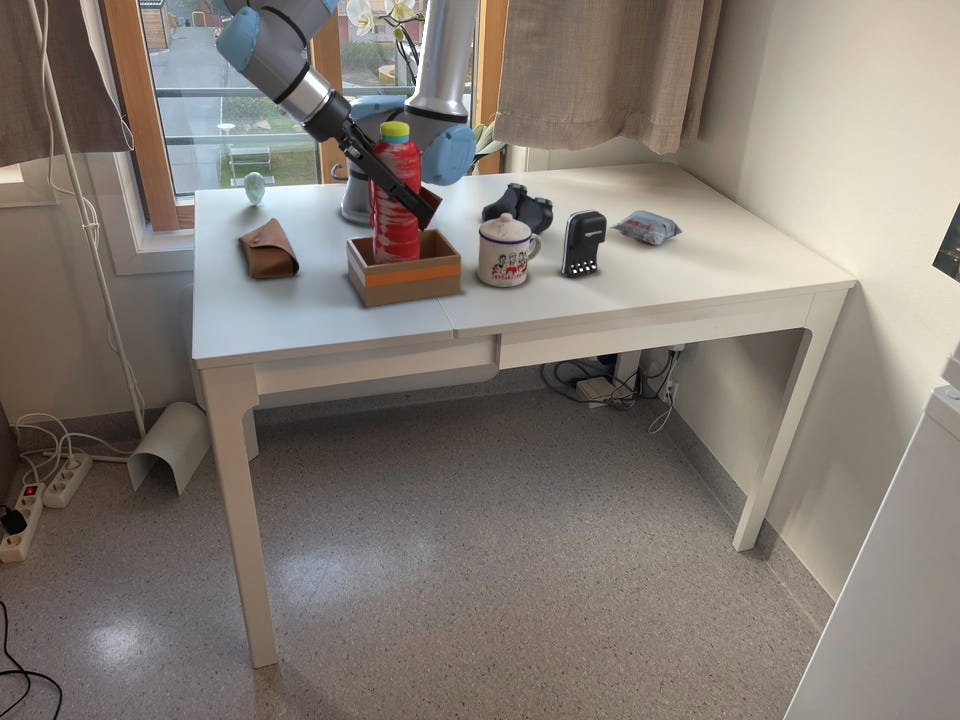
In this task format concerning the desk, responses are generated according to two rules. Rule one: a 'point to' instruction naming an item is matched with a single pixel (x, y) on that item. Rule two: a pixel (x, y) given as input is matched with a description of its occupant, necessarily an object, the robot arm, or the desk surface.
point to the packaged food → (647, 227)
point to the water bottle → (391, 218)
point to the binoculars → (522, 209)
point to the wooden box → (405, 271)
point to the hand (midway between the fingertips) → (424, 206)
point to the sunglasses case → (269, 252)
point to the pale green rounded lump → (254, 187)
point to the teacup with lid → (505, 251)
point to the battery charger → (583, 242)
